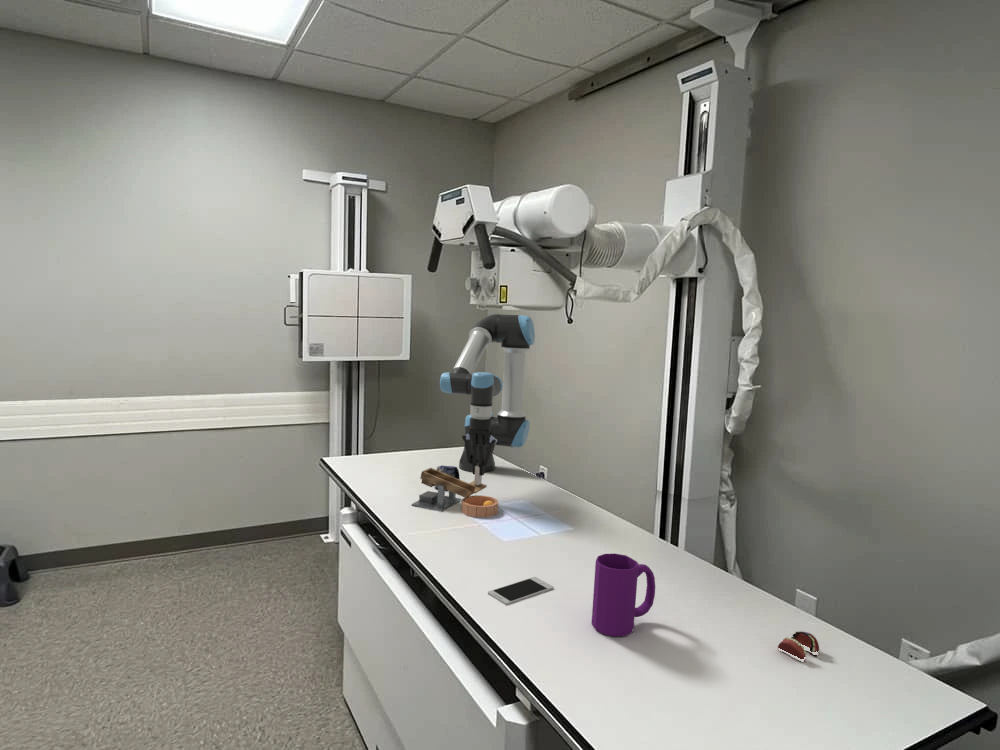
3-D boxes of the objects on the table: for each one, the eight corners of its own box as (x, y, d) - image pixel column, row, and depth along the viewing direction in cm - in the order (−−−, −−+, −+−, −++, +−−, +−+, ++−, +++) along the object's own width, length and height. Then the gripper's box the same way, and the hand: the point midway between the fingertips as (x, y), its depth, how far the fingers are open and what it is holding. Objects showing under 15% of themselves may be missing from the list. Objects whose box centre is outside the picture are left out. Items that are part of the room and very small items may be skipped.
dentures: (776, 633, 130) (798, 624, 135) (773, 652, 131) (795, 642, 135) (802, 647, 126) (824, 637, 130) (799, 666, 126) (821, 656, 131)
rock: (461, 485, 230) (451, 460, 231) (436, 496, 231) (425, 471, 232) (467, 483, 241) (456, 459, 242) (442, 494, 241) (432, 470, 243)
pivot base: (411, 505, 212) (412, 483, 211) (432, 495, 225) (433, 473, 224) (441, 511, 208) (442, 488, 207) (461, 500, 220) (461, 478, 220)
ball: (484, 507, 211) (487, 497, 210) (494, 511, 210) (496, 501, 209) (480, 510, 208) (482, 500, 207) (489, 514, 206) (492, 504, 206)
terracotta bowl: (471, 503, 218) (471, 493, 217) (503, 509, 213) (503, 499, 213) (455, 513, 207) (455, 502, 206) (488, 519, 202) (488, 509, 202)
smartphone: (554, 590, 155) (554, 586, 155) (505, 607, 145) (506, 603, 145) (534, 579, 160) (534, 576, 160) (486, 595, 151) (487, 591, 151)
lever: (418, 483, 215) (421, 471, 214) (440, 472, 229) (443, 462, 228) (465, 503, 208) (468, 491, 207) (485, 491, 222) (488, 480, 221)
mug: (582, 621, 139) (587, 556, 138) (637, 608, 147) (642, 546, 145) (608, 641, 131) (613, 572, 130) (665, 627, 138) (670, 561, 137)
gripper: (459, 416, 217) (456, 483, 219) (493, 421, 211) (490, 489, 214) (468, 413, 223) (466, 478, 226) (502, 417, 218) (499, 484, 221)
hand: (477, 483), depth 220 cm, fingers closed
